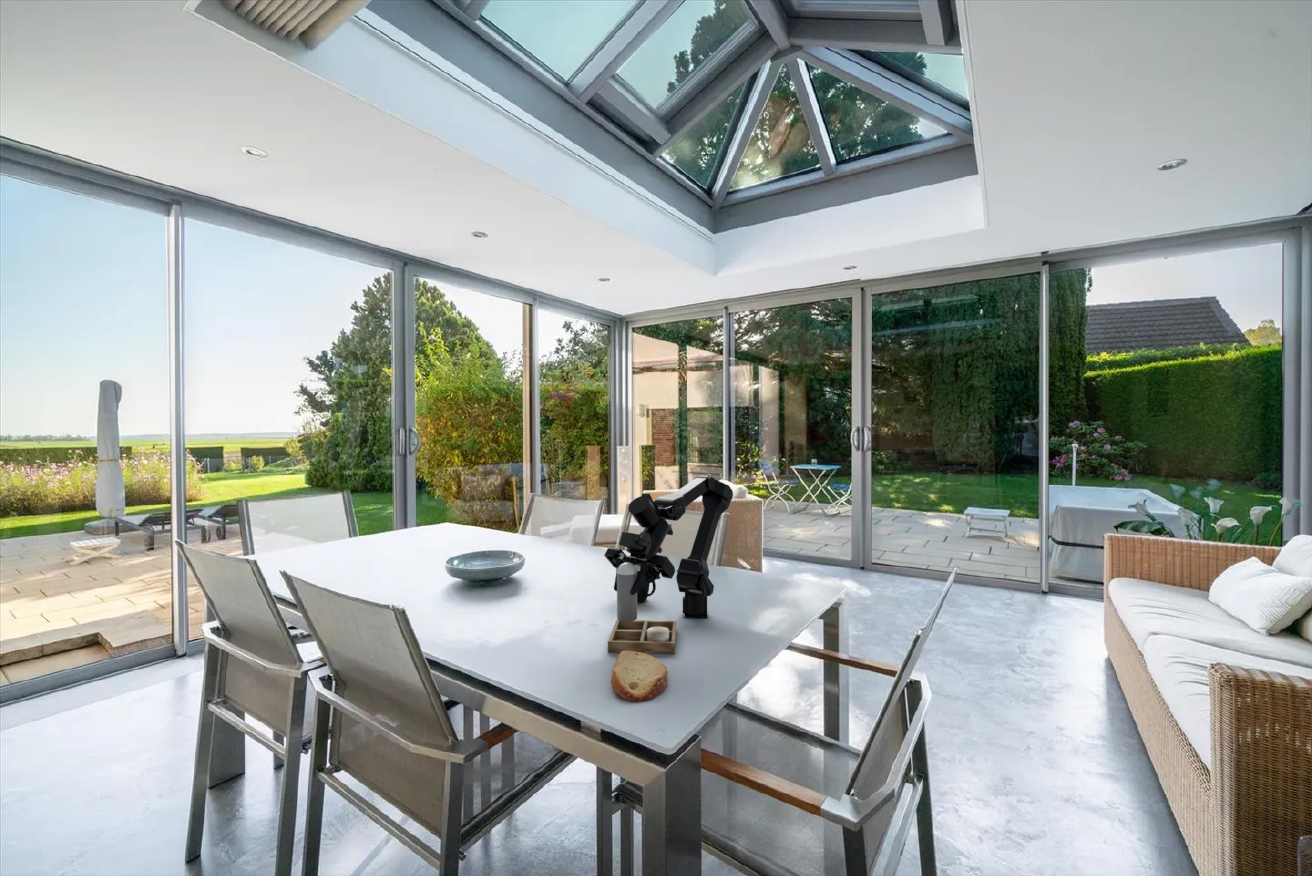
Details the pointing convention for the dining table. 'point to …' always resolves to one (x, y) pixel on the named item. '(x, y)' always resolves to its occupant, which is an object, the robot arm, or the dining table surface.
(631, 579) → the grey rounded cylinder
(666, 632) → the caddy
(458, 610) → the dining table surface
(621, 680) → the slice of bread
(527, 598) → the dining table surface
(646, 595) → the mug
